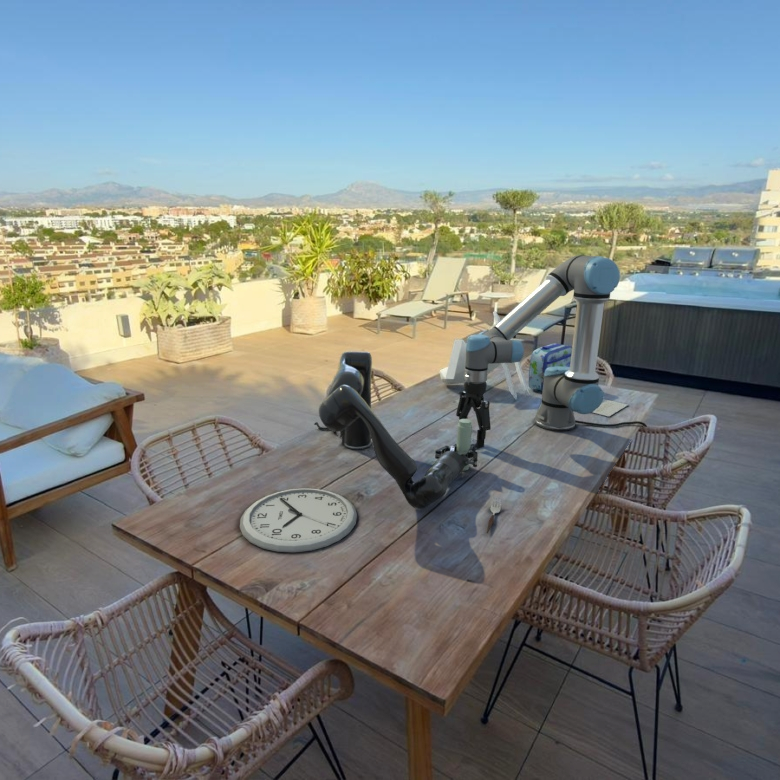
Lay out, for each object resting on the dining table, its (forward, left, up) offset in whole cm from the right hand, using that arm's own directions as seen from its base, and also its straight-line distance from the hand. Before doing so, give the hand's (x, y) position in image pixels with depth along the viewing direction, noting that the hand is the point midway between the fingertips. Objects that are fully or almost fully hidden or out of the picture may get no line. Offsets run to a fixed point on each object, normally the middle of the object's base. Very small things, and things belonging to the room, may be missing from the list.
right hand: (471, 442), depth 184 cm
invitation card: (-57, -51, -1) cm, 77 cm away
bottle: (+3, +19, -1) cm, 19 cm away
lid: (0, 0, 0) cm, 0 cm away
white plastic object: (-6, -63, -1) cm, 63 cm away
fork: (-4, +49, -1) cm, 49 cm away
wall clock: (+46, +56, -1) cm, 72 cm away
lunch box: (-39, -76, -1) cm, 86 cm away
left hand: (+3, +16, +5) cm, 17 cm away
